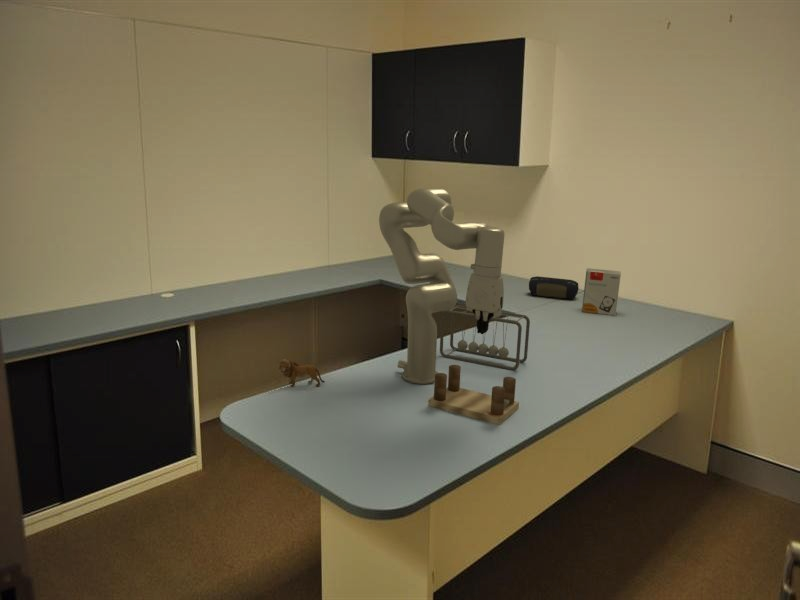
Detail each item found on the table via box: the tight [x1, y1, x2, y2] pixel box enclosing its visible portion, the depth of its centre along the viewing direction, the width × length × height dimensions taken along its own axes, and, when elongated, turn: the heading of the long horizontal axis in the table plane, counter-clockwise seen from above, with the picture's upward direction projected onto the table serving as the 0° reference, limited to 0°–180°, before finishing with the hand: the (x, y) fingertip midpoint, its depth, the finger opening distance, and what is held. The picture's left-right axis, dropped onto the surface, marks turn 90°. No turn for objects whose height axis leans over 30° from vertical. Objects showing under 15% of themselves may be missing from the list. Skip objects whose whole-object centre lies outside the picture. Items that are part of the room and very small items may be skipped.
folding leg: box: [491, 376, 517, 414], centre depth 187 cm, size 13×4×7 cm, turn 151°
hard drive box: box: [581, 267, 622, 316], centre depth 304 cm, size 16×8×20 cm, turn 73°
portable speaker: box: [528, 276, 580, 300], centre depth 332 cm, size 25×10×10 cm, turn 68°
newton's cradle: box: [439, 304, 531, 371], centre depth 233 cm, size 30×10×18 cm, turn 62°
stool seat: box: [427, 364, 520, 425], centre depth 191 cm, size 23×14×10 cm, turn 58°
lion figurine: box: [277, 358, 326, 388], centre depth 205 cm, size 15×5×9 cm, turn 105°
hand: (482, 332), depth 188 cm, fingers closed
